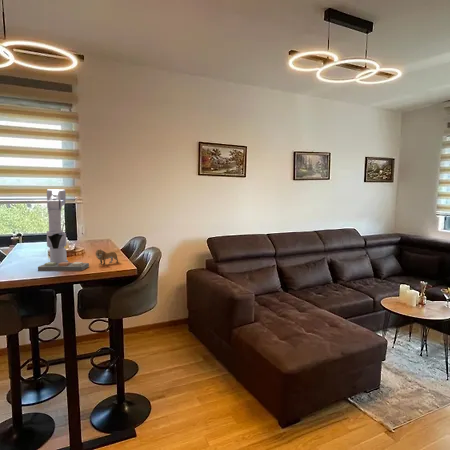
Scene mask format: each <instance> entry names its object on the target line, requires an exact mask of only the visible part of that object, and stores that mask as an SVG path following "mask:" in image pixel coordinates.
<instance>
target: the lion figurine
mask: <svg viewBox="0 0 450 450" xmlns="http://www.w3.org/2000/svg"><path fill="white" fill-rule="evenodd" d="M95 256H96V258H97V260H99V261H100V263H99V265H100V264H101V265H103V266H105V265H106V260H108V259H110V261H109V262H108V263H109V264H112V262H113V261H114V260H115V264H119V259H118V255H117V253H116V251H109V252H106V251H104V250H102V249H100V248H99V249H97V250H96V252H95ZM113 259H114V260H113Z"/></svg>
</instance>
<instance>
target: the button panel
mask: <svg viewBox="0 0 450 450" xmlns="http://www.w3.org/2000/svg"><path fill="white" fill-rule="evenodd" d="M72 263H73V262H70V265H68V266H59V263H56V265H54V266H45V263H43V264H42V265H39V266H38V267H37V271H40V272H42V271H45V272H46V271H49V272H50V271H55V272H58V271H60V272H61V271H62V272H63V271H64V272H65V271H66V272H67V271H69V272H70V271H74V272H75V271H84V270H86V269H87V268H89V267H90V264H89V262H83V265H81V266H72Z"/></svg>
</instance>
